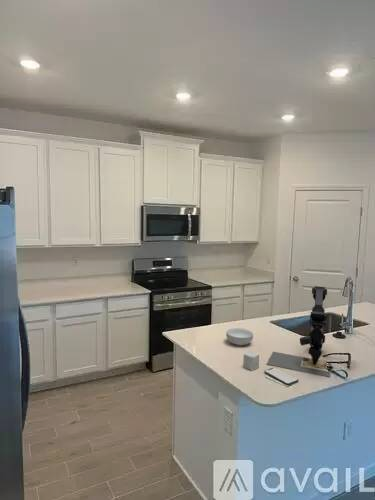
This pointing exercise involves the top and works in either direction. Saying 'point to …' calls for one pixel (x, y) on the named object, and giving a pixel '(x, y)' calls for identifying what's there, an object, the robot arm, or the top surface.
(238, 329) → the cereal bowl
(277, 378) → the smartphone
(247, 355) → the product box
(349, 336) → the top surface
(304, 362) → the two-tone wooden plank
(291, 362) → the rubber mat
